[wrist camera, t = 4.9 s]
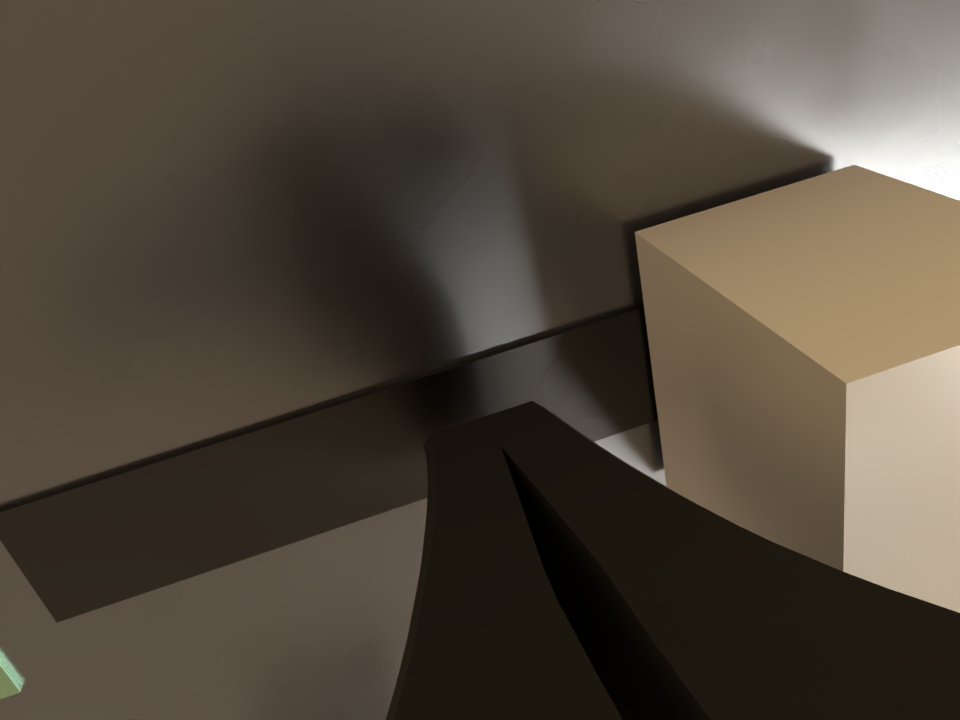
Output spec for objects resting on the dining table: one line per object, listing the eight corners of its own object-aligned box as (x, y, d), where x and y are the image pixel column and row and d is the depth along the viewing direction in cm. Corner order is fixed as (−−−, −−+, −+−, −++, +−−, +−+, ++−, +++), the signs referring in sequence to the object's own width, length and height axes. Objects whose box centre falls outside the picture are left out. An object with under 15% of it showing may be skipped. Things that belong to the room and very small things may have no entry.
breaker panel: (1022, -301, 10) (1149, -343, 8) (925, 697, 19) (978, 755, 18) (-606, 85, 8) (-800, 113, 6) (178, 994, 17) (171, 1087, 15)
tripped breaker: (854, 164, 10) (1170, 272, 7) (849, 421, 12) (1092, 609, 8) (634, 231, 10) (846, 383, 6) (666, 485, 12) (840, 709, 8)
